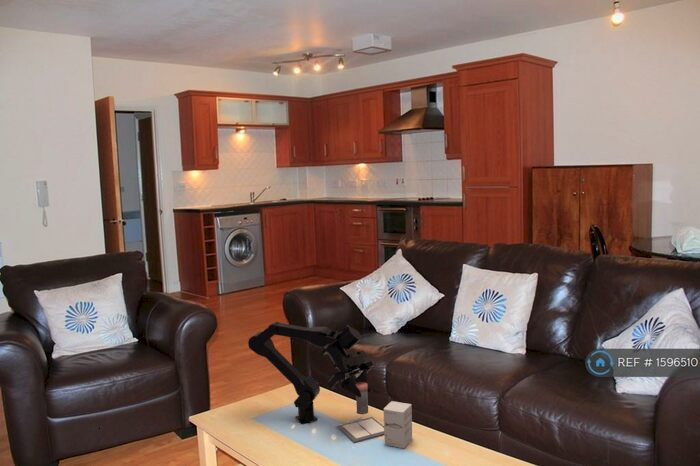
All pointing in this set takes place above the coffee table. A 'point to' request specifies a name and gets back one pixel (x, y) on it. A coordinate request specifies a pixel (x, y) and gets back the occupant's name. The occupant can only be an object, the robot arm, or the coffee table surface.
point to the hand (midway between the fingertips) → (364, 394)
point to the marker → (362, 398)
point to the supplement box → (398, 424)
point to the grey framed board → (362, 429)
